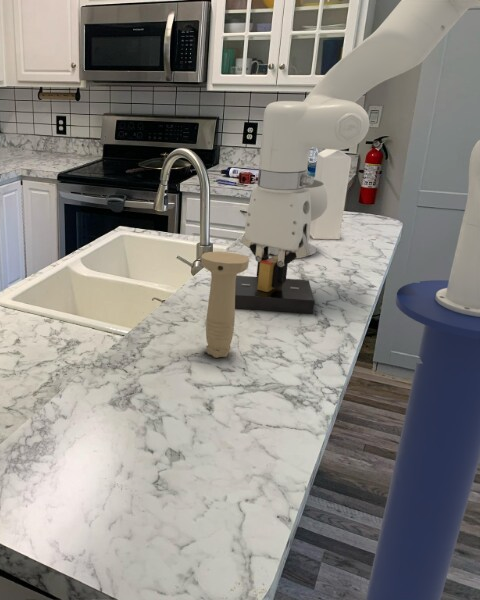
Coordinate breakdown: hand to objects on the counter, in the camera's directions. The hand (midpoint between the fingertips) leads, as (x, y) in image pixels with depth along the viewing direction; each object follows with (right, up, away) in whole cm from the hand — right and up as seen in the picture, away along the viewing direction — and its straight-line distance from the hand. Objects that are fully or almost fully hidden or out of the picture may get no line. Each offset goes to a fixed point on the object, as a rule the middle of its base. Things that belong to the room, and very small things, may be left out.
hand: (270, 283), depth 108 cm
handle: (-13, -11, -17) cm, 25 cm away
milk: (+24, +12, +38) cm, 46 cm away
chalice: (+12, +8, +28) cm, 32 cm away
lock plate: (0, -3, +1) cm, 3 cm away
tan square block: (0, -1, 0) cm, 1 cm away
